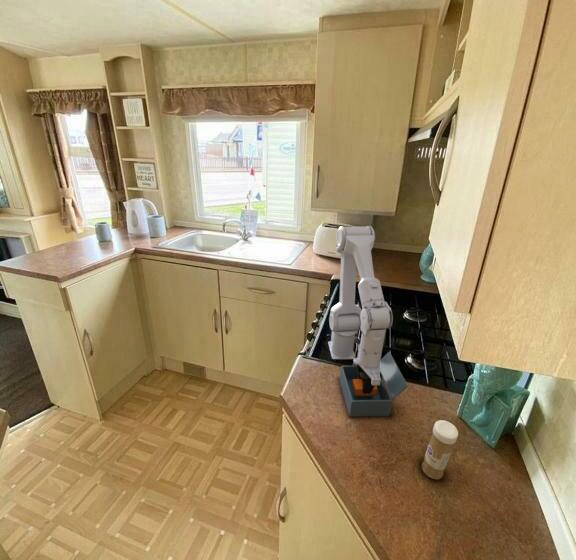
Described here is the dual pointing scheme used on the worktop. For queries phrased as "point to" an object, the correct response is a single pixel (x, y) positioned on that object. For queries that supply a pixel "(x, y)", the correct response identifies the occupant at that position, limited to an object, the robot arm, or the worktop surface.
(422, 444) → the worktop surface
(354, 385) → the packet
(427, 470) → the sprinkles bottle
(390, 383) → the flap
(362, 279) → the robot arm
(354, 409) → the grey open box
